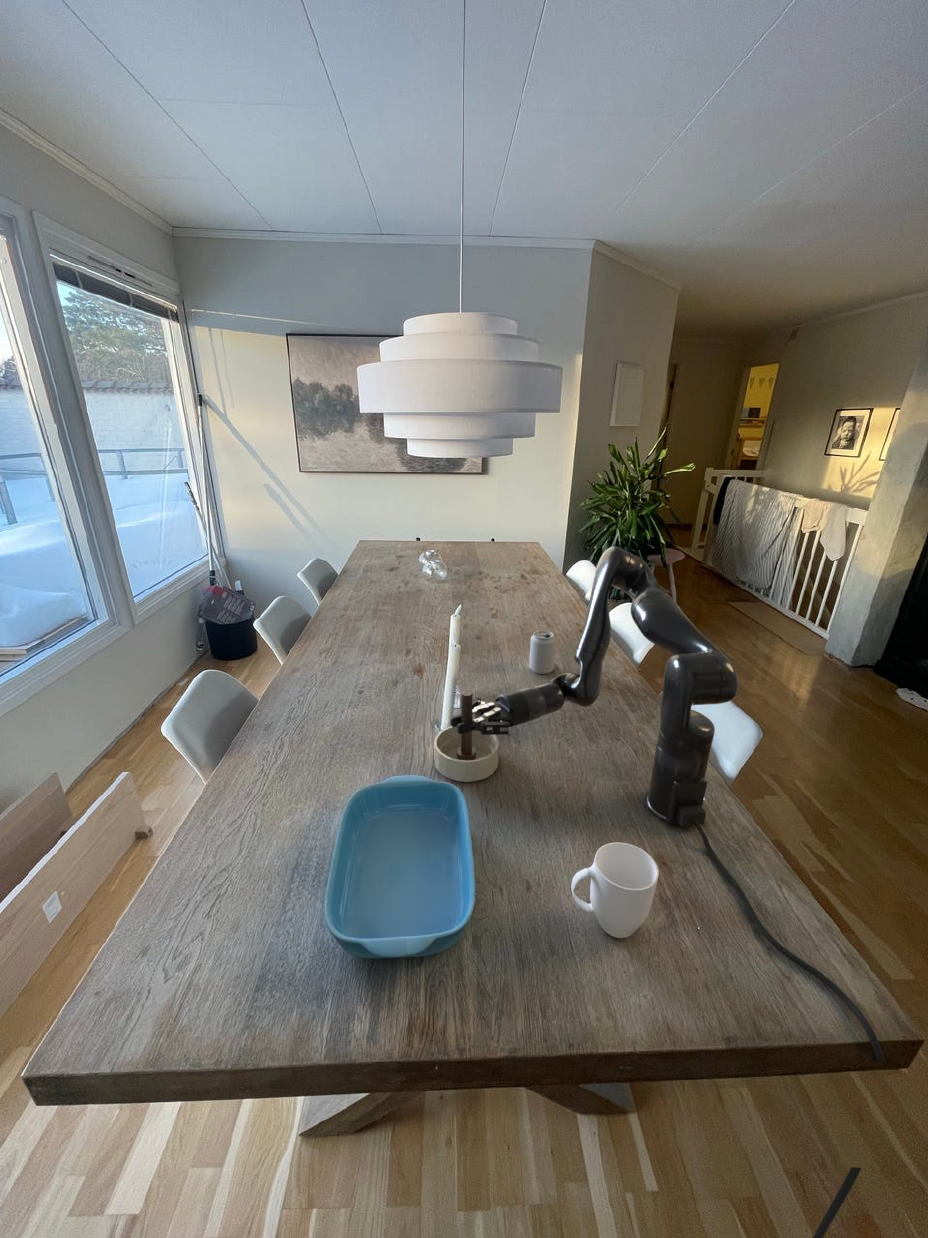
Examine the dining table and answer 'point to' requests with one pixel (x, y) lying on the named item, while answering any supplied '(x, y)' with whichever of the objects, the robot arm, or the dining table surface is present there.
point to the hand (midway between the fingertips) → (454, 726)
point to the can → (542, 652)
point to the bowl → (463, 769)
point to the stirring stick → (466, 748)
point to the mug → (619, 887)
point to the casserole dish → (401, 870)
